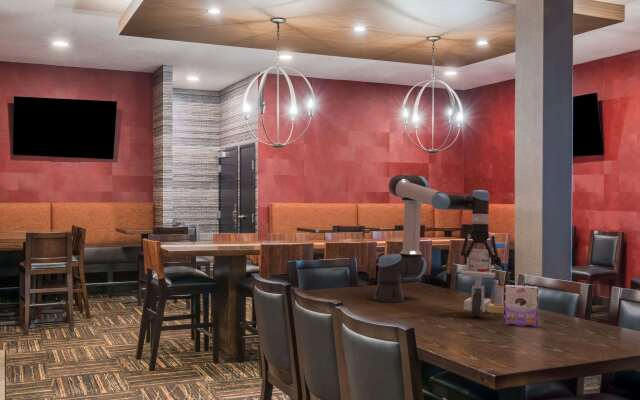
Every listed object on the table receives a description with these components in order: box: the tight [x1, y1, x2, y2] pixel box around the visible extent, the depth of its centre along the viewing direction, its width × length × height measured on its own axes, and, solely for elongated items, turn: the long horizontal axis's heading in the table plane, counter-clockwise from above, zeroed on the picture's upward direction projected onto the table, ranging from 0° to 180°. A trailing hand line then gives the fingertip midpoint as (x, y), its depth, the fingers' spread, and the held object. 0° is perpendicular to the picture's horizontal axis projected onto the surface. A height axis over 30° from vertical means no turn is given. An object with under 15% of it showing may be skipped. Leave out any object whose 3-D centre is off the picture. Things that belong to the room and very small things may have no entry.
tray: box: [463, 296, 492, 313], centre depth 333 cm, size 16×10×4 cm, turn 157°
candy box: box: [503, 284, 539, 328], centre depth 292 cm, size 14×6×16 cm, turn 71°
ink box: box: [468, 247, 491, 272], centre depth 320 cm, size 8×5×12 cm, turn 39°
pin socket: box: [486, 303, 504, 315], centre depth 327 cm, size 9×9×3 cm
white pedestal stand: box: [460, 270, 496, 318], centre depth 309 cm, size 14×10×20 cm
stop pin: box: [493, 285, 505, 306], centre depth 327 cm, size 4×4×12 cm
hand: (479, 271), depth 320 cm, fingers closed on ink box, 9 cm apart
